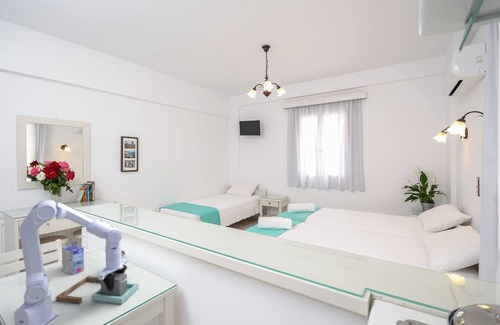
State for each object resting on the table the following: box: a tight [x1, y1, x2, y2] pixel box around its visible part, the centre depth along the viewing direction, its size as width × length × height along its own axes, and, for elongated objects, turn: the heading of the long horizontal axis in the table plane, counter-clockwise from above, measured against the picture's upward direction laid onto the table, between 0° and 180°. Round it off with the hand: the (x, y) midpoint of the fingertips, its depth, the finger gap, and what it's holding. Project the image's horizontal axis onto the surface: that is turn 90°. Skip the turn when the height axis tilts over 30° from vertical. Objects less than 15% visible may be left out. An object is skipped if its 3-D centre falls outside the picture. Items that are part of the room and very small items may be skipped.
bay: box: [55, 275, 101, 305], centre depth 101 cm, size 15×11×2 cm
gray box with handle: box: [100, 273, 129, 296], centre depth 98 cm, size 4×10×7 cm, turn 81°
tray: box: [90, 282, 139, 305], centre depth 98 cm, size 10×14×2 cm
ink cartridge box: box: [61, 241, 85, 276], centre depth 118 cm, size 10×6×14 cm, turn 66°
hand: (114, 286), depth 98 cm, fingers closed on gray box with handle, 4 cm apart
